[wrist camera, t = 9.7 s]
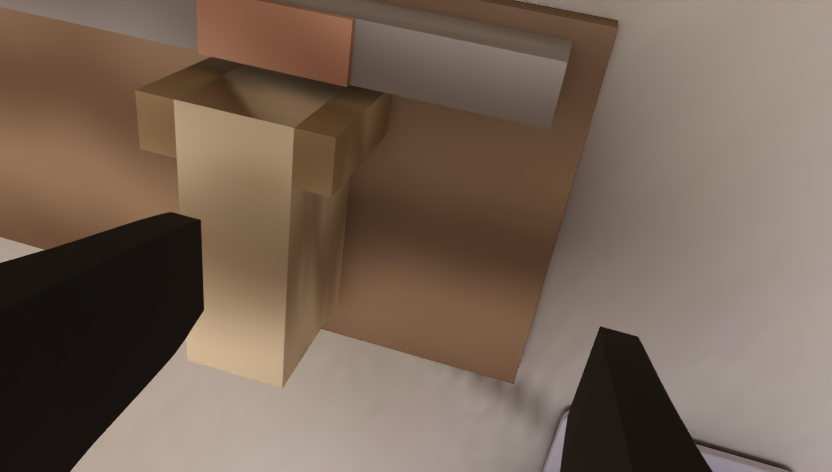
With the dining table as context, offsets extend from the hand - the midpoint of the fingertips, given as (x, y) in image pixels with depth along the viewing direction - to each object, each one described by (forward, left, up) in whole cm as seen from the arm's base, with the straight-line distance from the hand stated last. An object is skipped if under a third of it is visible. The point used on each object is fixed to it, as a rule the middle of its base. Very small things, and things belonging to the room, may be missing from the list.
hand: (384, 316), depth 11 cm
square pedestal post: (-3, +5, -8) cm, 10 cm away
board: (-2, +11, -9) cm, 15 cm away
